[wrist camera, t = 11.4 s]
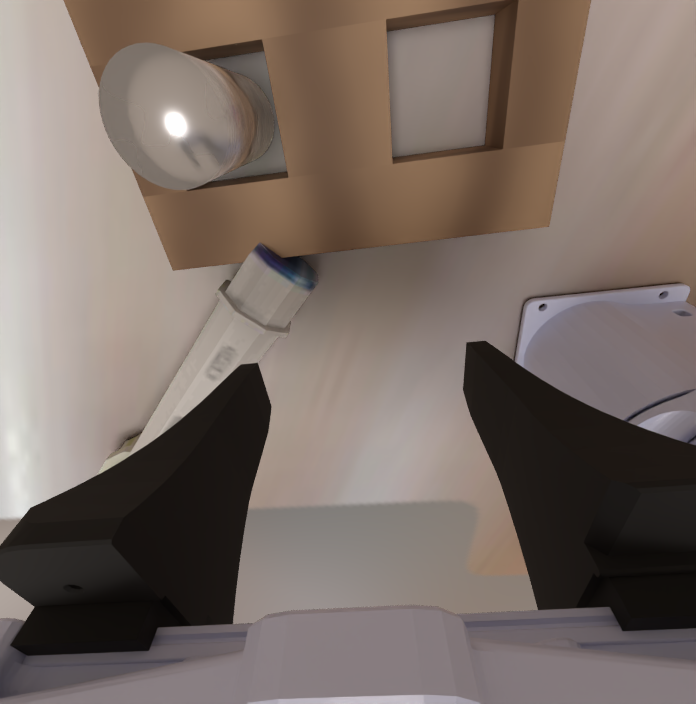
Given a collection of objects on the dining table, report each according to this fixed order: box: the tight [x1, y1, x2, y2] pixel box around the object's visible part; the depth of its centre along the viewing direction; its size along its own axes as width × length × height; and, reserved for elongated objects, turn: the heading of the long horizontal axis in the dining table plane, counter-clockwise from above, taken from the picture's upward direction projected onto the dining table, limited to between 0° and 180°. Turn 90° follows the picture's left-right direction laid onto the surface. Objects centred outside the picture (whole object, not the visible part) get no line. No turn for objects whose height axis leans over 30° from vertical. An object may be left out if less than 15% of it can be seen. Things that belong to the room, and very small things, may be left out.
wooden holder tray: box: [64, 0, 591, 270], centre depth 16 cm, size 19×12×2 cm, turn 97°
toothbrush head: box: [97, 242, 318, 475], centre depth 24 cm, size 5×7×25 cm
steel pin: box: [99, 43, 274, 190], centre depth 14 cm, size 4×4×8 cm
